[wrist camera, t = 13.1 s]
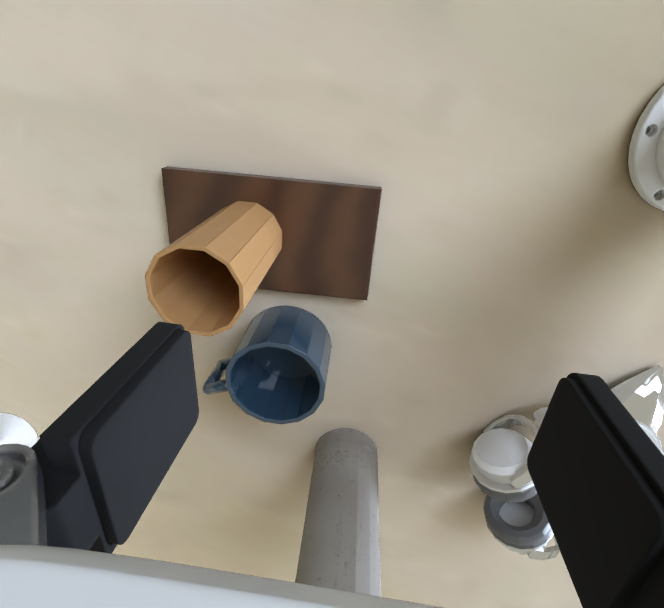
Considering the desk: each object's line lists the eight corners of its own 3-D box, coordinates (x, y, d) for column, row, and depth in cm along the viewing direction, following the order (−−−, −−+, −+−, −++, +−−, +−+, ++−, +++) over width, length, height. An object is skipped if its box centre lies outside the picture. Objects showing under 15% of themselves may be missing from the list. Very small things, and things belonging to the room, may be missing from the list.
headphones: (484, 528, 54) (646, 485, 52) (509, 588, 47) (698, 540, 45) (449, 409, 46) (641, 351, 43) (473, 460, 39) (704, 393, 36)
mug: (317, 297, 41) (307, 333, 35) (340, 370, 45) (336, 416, 39) (206, 321, 44) (177, 359, 37) (237, 388, 48) (216, 434, 41)
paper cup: (282, 205, 36) (242, 250, 25) (281, 271, 39) (244, 340, 28) (212, 198, 36) (139, 240, 25) (216, 264, 39) (152, 329, 28)
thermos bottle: (345, 481, 53) (324, 809, 28) (303, 448, 51) (241, 771, 26) (390, 454, 51) (411, 793, 26) (347, 418, 48) (326, 748, 23)
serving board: (381, 187, 36) (381, 189, 35) (367, 295, 41) (366, 300, 40) (167, 166, 37) (161, 168, 36) (178, 275, 42) (173, 279, 41)
